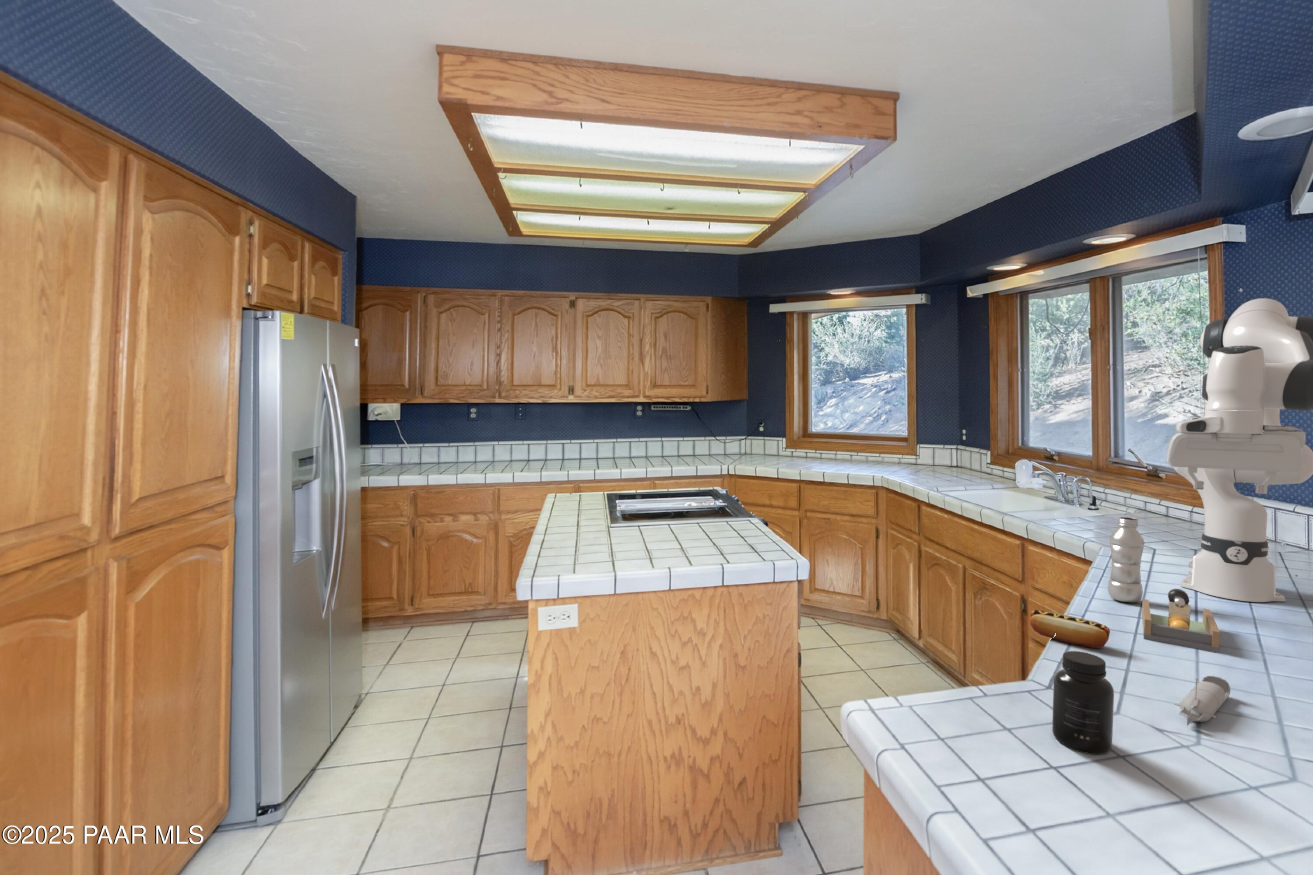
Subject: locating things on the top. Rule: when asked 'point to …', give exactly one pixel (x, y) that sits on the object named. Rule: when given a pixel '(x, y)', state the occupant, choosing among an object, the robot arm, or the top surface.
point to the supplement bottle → (1083, 704)
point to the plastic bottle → (1126, 561)
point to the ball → (1179, 624)
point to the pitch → (1181, 630)
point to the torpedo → (1204, 699)
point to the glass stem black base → (1178, 606)
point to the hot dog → (1069, 629)
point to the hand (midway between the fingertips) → (1229, 491)
